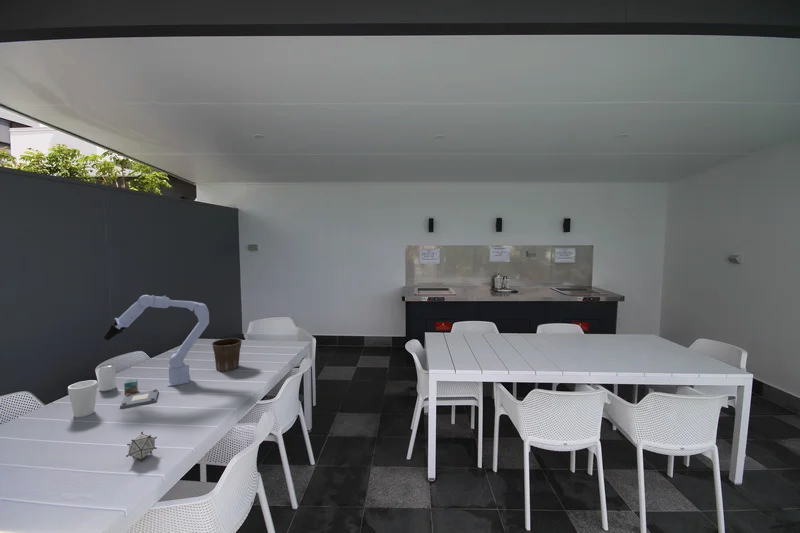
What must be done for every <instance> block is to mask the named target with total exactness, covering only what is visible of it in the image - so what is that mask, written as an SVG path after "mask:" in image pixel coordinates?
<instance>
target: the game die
mask: <svg viewBox="0 0 800 533" xmlns="http://www.w3.org/2000/svg"><path fill="white" fill-rule="evenodd" d="M156 439H157V436H155V437H153V436H152V435H151V434H150V435H147V434H145V433H144V431H141V432H140V435H139V436H137V437H136V438H134V439H131V442H130V443H127V444H126V445H127V446H128V454H126V455H125V458H128V457H132V458H133V459H134V458H136V459H139V460H140V462H141V463H142V462H143V461H144V458H146V456H147V457H148V455H149V454H152V453H153V450H157V449H158V447H156V444H155V442H156V441H155V440H156Z"/></svg>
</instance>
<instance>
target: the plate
mask: <svg viewBox="0 0 800 533" xmlns="http://www.w3.org/2000/svg"><path fill="white" fill-rule="evenodd" d="M158 394H159V389H155V388H154V389H152V390H146V391H142V392H137V393H135V394H127V395H125V394H124V397H123V399H122V401H121V404H120V405H119V409H125V408H131V407H136V406H141V404H142V405H147V404H146V403H148V404H152V403H151V402H153V403H156V402H157V398H158Z"/></svg>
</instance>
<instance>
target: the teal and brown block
mask: <svg viewBox="0 0 800 533" xmlns="http://www.w3.org/2000/svg"><path fill="white" fill-rule="evenodd" d="M123 386H124V396H125V395H127V394H135V393H138V391H139V390H138V389H139V388H138V378H134V379H133V378H132V379H127V380H125V382H124V384H123ZM137 390H138V391H137Z"/></svg>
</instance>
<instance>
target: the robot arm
mask: <svg viewBox="0 0 800 533" xmlns="http://www.w3.org/2000/svg"><path fill="white" fill-rule="evenodd" d="M149 307H151V308H159V309H160V308H161V309H167V308H169V307H176V308H182V309H183V308H186V309H188V310H189V311H190V312H194V315H195V316H196V318H197V321H198V322H197V323H196V325H195V326H194V327H193V329H192V330H191V332H190V333H189V334H188V336H187V337H186V338H185V340H183V342H182V344H181V345H180V347H179V348H177V350H176V351H174V352H173V353H171V354H170V356H169V360H168V383H167V387H172V386H179V385H183V384H189V383H190V379H191V375H190V364H185V363H184V362H185V361H184V360H185V359H186V357H187V355H188V353H189V351H190V350H191V348H192V347H193V346H194V344H196V342H197V341H198V339H199V338H200V336H201V335H202V334H203V332H204V331H205V330H206V328H207V327H208V325H209V324H210V312H209V311H210V310H209V309H208V307H207V304H206V303H204V302H197V301H192V300H176V299H170V298H169V296H168V297H167V295H163V296H157V295H154V294H151V295H149V294H143V295H141V296H139V298H138V299H137V301H136V302H134V303H133V304H132V305H130V306H129V308H128V309H127V310H125V311H124V312H123V313H122V314H121V315H120V316H118V317H115V318H114V319H113V320H115V322H114V323H112V324H111V325H110V327H109V330H108V332H107V333H106V334H105V335H104V337H103V339H104V340H106V341H110V340H111V339H112V338H114V337H115V336H117V335H118V334H121V333H123V332H124V330H125V329H127V328H129V327H130V325H131V324H132V323H133V322H134V321H135V320H137V318H138V317H140V315H141V314H142V313H143V312H144V311H145V310H146V309H147V308H149Z"/></svg>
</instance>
